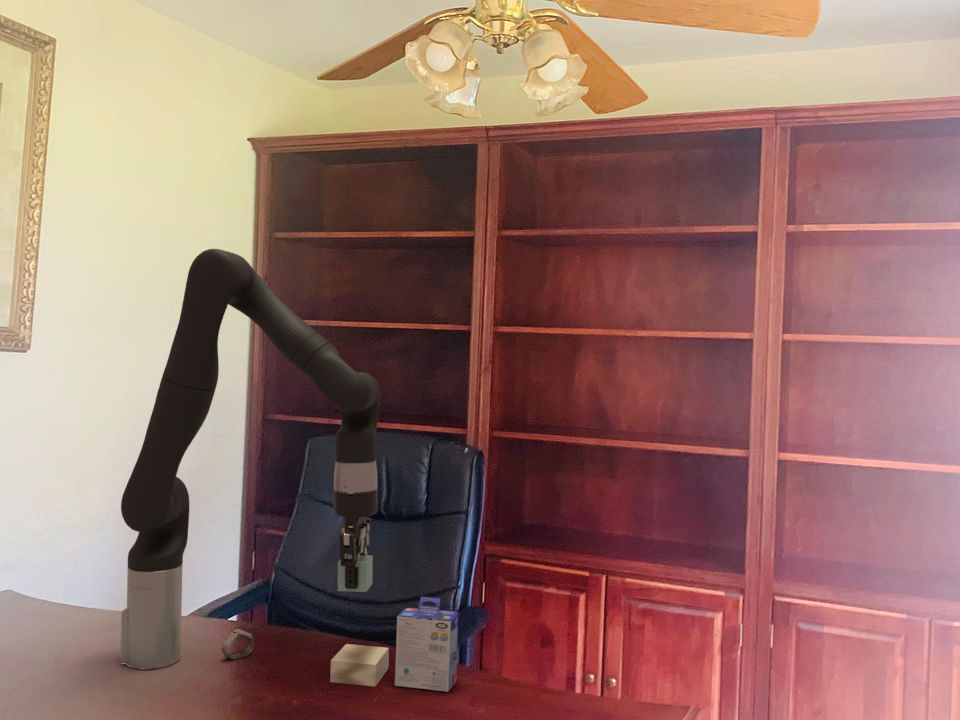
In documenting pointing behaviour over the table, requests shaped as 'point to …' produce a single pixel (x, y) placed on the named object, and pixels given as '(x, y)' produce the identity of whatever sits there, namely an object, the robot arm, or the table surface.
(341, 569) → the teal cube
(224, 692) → the table surface
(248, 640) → the wristwatch
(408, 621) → the ink cartridge box
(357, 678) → the ash block
